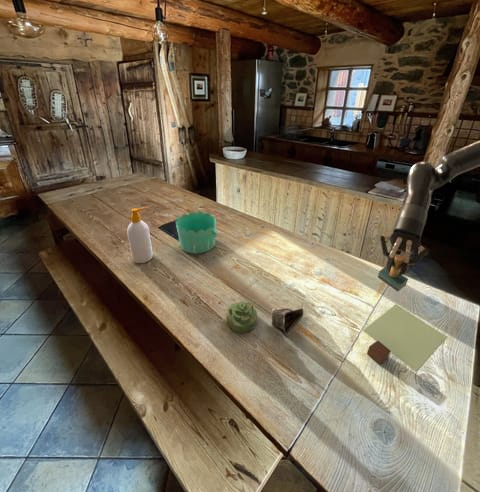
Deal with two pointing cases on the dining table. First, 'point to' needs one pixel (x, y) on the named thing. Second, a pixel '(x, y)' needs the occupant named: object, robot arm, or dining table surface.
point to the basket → (196, 232)
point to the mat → (405, 336)
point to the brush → (394, 274)
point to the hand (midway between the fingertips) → (394, 272)
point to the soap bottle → (139, 238)
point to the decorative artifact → (241, 316)
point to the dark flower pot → (286, 318)
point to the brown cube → (378, 352)
